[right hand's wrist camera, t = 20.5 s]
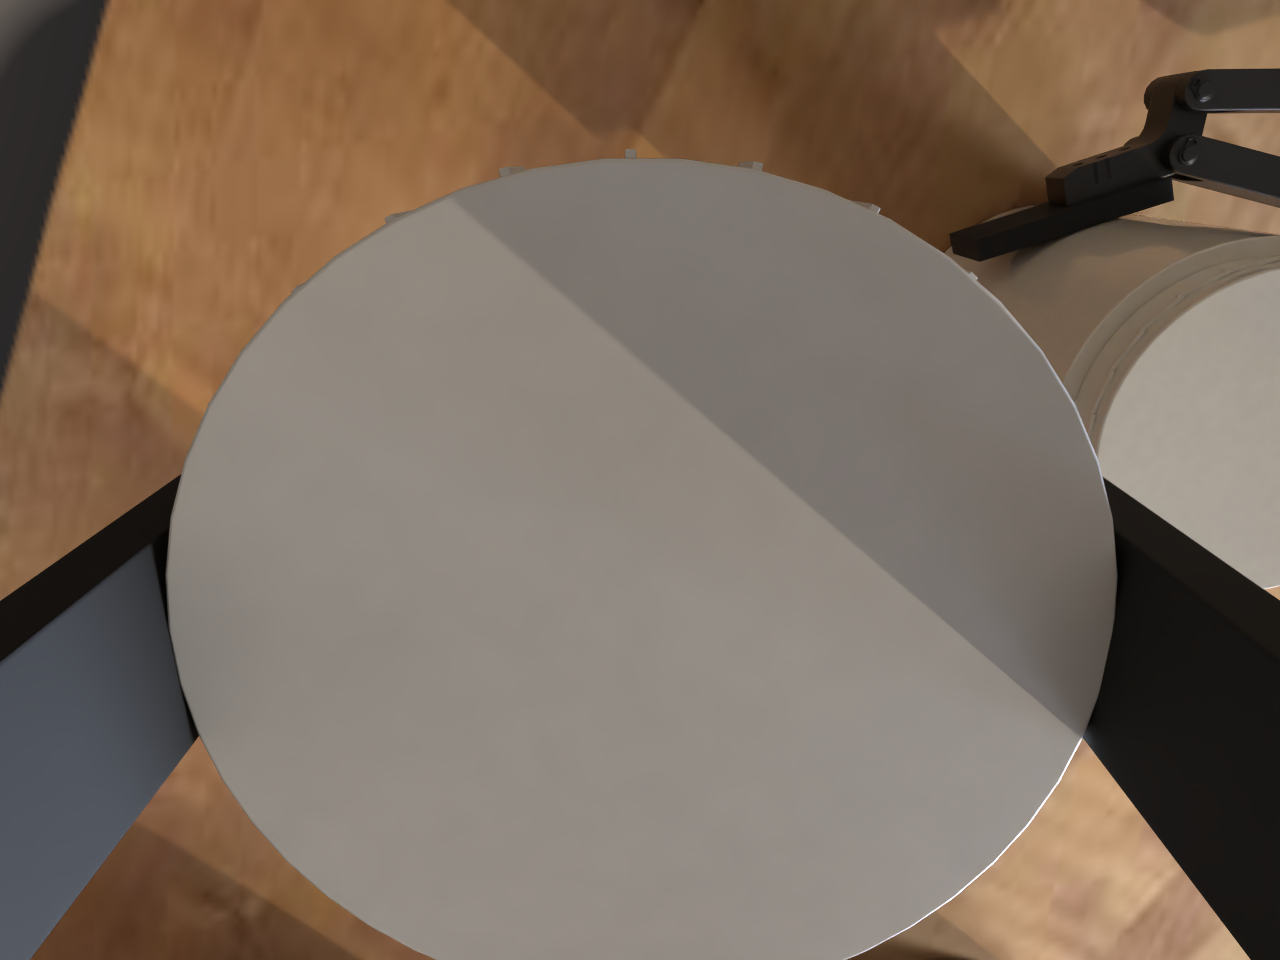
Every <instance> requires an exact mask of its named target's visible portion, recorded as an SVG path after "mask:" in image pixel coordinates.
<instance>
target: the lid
mask: <svg viewBox="0 0 1280 960" xmlns="http://www.w3.org/2000/svg"><path fill="white" fill-rule="evenodd" d="M762 168H763V163H759V162H755V161H750V162H739V165H738V167H737V166H730V165H723V164H716V163H709V162H702V161H695V160H688V159H681V158H636V149H626V150H625V158H604V159H597V160H590V161H583V162H575V163H568V164H561V165H554V166H547V167H539V168H532V169H528V170H526V169H525V167H505V168H501V169H499V173H500V176H501V177H500V178H497V179H493V180H490V181H486V182H483V183H479V184H476V185H472V186H469V187H465V188H462V189H459V190H457V191H455V192H452V193H450V194H448V195H446V196H444V197H441V198H439V199H437V200H435V201H432V202H430V203H428V204H426V205H423V206H421V207H419V208H417V209H415V210H411V211H406V212H401V213H396V214H391V215H390V216H388V217H386V218H385V221H386V223H387V224H385V225H383V226H382V227H380V228H379V229H377V230H376V231H374V232H372V233H371V234H369V235H368V236H366V237H365V238H363V239H361V240H360V241H358V242H357V243H355V244H354V245H352V246H350V247H349V248H347V249H346V250H344V251H343V252H341V253H339V254H338V255H336V256H335V257H334V258H333V259H331V260H330V261H329V262H328V263H327V264H326V265H325V266H323V267H322V268H321V269H320V270H319V271H318V272H316V273H315V274H314V275H313V276H312V277H311V278H310V279H308V280H307V281H306V282H305V283H304V284H301V285H298V286H296V287H295V288H294V289H293V290H292V294H291V295H290V296H289V297H288V298H286V299H285V300H284V301H283V302H282V304H281V305H280V306H279V307H278V308H277V309H276V311H275V312H274V313H273V314H272V315H271V317H270V318H269V319H268V320H267V321H266V322H265V324H264V325H263V326H262V327H261V328H260V329H259V331H258V332H257V333H256V334H255V335H254V336H253V338H252V339H251V340H250V341H249V342H248V343H247V345H246V346H245V347H244V348H243V349H242V351H241V352H240V354H239V355H238V357H237V359H236V360H235V362H234V364H233V365H232V367H231V368H230V370H229V372H228V373H227V375H226V377H225V378H224V380H223V381H222V383H221V385H220V386H219V388H218V389H217V391H216V393H215V394H214V396H213V398H212V399H211V401H210V402H209V404H208V407H207V409H206V411H205V414H204V416H203V418H202V421H201V423H200V426H199V428H198V430H197V433H196V435H195V437H194V440H193V442H192V445H191V447H190V449H189V452H188V454H187V456H186V459H185V462H184V466H183V470H182V474H181V478H180V482H179V486H178V490H177V494H176V498H175V502H174V506H173V510H172V514H171V520H170V531H169V542H168V553H167V564H166V591H167V608H168V625H169V633H170V638H171V643H172V648H173V652H174V657H175V662H176V667H177V672H178V676H179V681H180V685H181V688H182V690H183V693H184V696H185V699H186V701H187V704H188V707H189V710H190V712H191V715H192V718H193V721H194V723H195V726H196V729H197V732H198V734H199V736H200V738H201V740H202V742H203V744H204V746H205V748H206V749H207V751H208V753H209V755H210V757H211V759H212V761H213V763H214V765H215V767H216V769H217V770H218V772H219V774H220V776H221V778H222V780H223V782H224V783H225V784H226V786H227V787H228V789H229V790H230V792H231V793H232V794H233V796H234V797H235V799H236V800H237V801H238V803H239V804H240V806H241V807H242V809H243V810H244V811H245V813H246V814H247V816H248V817H249V819H250V820H251V821H252V823H253V824H254V825H255V826H256V827H257V829H258V830H259V831H260V832H261V833H262V834H263V835H264V836H265V837H266V838H267V840H268V841H269V842H270V843H271V844H272V845H273V846H274V847H275V848H276V849H277V851H278V852H279V853H280V854H281V855H282V856H283V857H284V858H285V859H286V861H287V862H288V863H289V864H291V865H292V866H293V867H294V868H295V869H296V870H297V871H299V872H300V873H301V874H302V875H303V876H304V877H306V878H307V879H308V880H309V881H310V882H311V883H312V884H314V885H315V886H316V887H317V888H318V889H319V890H320V891H322V892H323V893H324V894H325V895H326V896H327V897H329V898H330V899H332V900H333V901H335V902H336V903H337V904H339V905H340V906H342V907H343V908H345V909H346V910H348V911H349V912H350V913H352V914H353V915H355V916H356V917H358V918H359V919H361V920H362V921H363V922H365V923H366V924H368V925H369V926H371V927H373V928H375V929H376V930H378V931H380V932H382V933H384V934H386V935H387V936H389V937H391V938H393V939H395V940H397V941H398V942H400V943H402V944H404V945H406V946H408V947H410V948H411V949H413V950H415V951H417V952H420V953H422V954H425V955H427V956H429V957H432V958H434V959H437V960H846V959H848V958H851V957H853V956H855V955H858V954H860V953H863V952H865V951H867V950H869V949H871V948H873V947H875V946H876V945H878V944H880V943H882V942H884V941H886V940H888V939H889V938H891V937H893V936H895V935H897V934H899V933H901V932H902V931H904V930H906V929H908V928H910V927H912V926H913V925H915V924H916V923H917V922H919V921H920V920H922V919H923V918H925V917H926V916H928V915H929V914H931V913H932V912H933V911H935V910H936V909H938V908H939V907H941V906H942V905H944V904H945V903H947V902H948V901H949V900H951V899H952V898H954V897H955V896H956V895H957V894H959V893H960V892H961V891H962V890H963V889H964V888H965V887H967V886H968V885H969V884H970V883H971V882H972V881H974V880H975V879H976V878H977V877H978V876H979V875H980V874H982V873H983V872H984V871H985V870H986V869H987V868H989V867H990V866H991V865H992V864H993V863H994V862H995V861H996V860H997V859H998V858H999V857H1000V856H1001V854H1002V853H1003V852H1004V851H1005V850H1006V849H1007V848H1008V847H1009V846H1010V845H1011V843H1012V842H1013V841H1014V840H1015V839H1016V838H1017V837H1018V836H1019V835H1020V834H1021V833H1022V831H1023V830H1024V829H1025V828H1026V827H1027V826H1028V825H1029V824H1030V822H1031V821H1032V819H1033V818H1034V817H1035V815H1036V814H1037V812H1038V811H1039V809H1040V808H1041V807H1042V805H1043V804H1044V802H1045V801H1046V800H1047V798H1048V797H1049V795H1050V794H1051V793H1052V791H1053V790H1054V788H1055V787H1056V785H1057V784H1058V783H1059V781H1060V779H1061V777H1062V775H1063V774H1064V772H1065V770H1066V768H1067V766H1068V764H1069V762H1070V760H1071V758H1072V757H1073V755H1074V753H1075V751H1076V749H1077V747H1078V745H1079V743H1080V742H1081V740H1082V738H1083V736H1084V734H1085V731H1086V728H1087V725H1088V723H1089V720H1090V717H1091V715H1092V712H1093V709H1094V706H1095V704H1096V701H1097V698H1098V695H1099V691H1100V687H1101V682H1102V678H1103V673H1104V668H1105V663H1106V659H1107V654H1108V649H1109V645H1110V640H1111V635H1112V630H1113V625H1114V619H1115V608H1116V593H1117V577H1118V575H1117V563H1116V552H1115V540H1114V528H1113V518H1112V514H1111V510H1110V506H1109V502H1108V497H1107V493H1106V489H1105V485H1104V481H1103V477H1102V473H1101V469H1100V465H1099V461H1098V458H1097V456H1096V453H1095V451H1094V449H1093V446H1092V444H1091V441H1090V439H1089V437H1088V434H1087V432H1086V429H1085V427H1084V425H1083V422H1082V420H1081V417H1080V415H1079V413H1078V410H1077V408H1076V405H1075V404H1074V402H1073V400H1072V399H1071V397H1070V395H1069V394H1068V392H1067V391H1066V389H1065V387H1064V386H1063V384H1062V382H1061V381H1060V379H1059V377H1058V376H1057V374H1056V373H1055V371H1054V369H1053V368H1052V366H1051V364H1050V363H1049V361H1048V359H1047V358H1046V356H1045V355H1044V353H1043V351H1042V350H1041V349H1040V348H1039V347H1038V345H1037V344H1036V343H1035V342H1034V341H1033V339H1032V338H1031V337H1030V336H1029V335H1028V334H1027V332H1026V331H1025V330H1024V329H1023V328H1022V326H1021V325H1020V324H1019V323H1018V322H1017V321H1016V319H1015V318H1014V317H1013V316H1012V315H1011V313H1010V312H1009V311H1008V310H1007V309H1006V308H1005V306H1004V305H1003V304H1002V303H1001V302H1000V301H999V300H998V299H997V298H996V297H995V296H994V295H992V294H991V293H990V292H989V291H988V290H987V289H986V288H984V287H983V286H982V285H981V284H980V283H979V282H978V281H976V279H977V276H975V275H974V274H973V273H972V272H970V271H967V270H964V269H963V268H961V267H960V266H959V265H958V264H957V263H956V262H955V261H953V260H952V259H951V258H950V257H949V256H947V255H946V254H944V253H942V252H941V251H939V250H938V249H936V248H935V247H933V246H932V245H930V244H928V243H927V242H925V241H924V240H922V239H921V238H919V237H918V236H916V235H914V234H913V233H911V232H910V231H908V230H907V229H905V228H903V227H902V226H900V225H899V224H897V223H896V222H894V221H893V220H891V219H889V218H887V217H885V216H882V215H880V214H878V212H879V210H880V207H878V206H876V205H874V204H870V203H864V202H858V201H852V200H847V199H845V198H843V197H840V196H838V195H836V194H834V193H832V192H829V191H827V190H825V189H821V188H818V187H815V186H811V185H808V184H804V183H801V182H797V181H794V180H790V179H787V178H784V177H780V176H777V175H773V174H770V173H766V172H763V171H762Z"/></svg>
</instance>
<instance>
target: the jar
mask: <svg viewBox="0 0 1280 960" xmlns="http://www.w3.org/2000/svg"><path fill="white" fill-rule="evenodd" d="M1034 206H1037V205H1033V206H1026V207H1021V208H1017V209H1012V210H1010V211H1007V212H1004V213H1001V214H998V215H996V216H994V217H992V218H990V219H988V220H986V221H984V222H987V221H990V220H993V219H997V218H1000V217H1003V216H1006V215H1009V214H1012V213H1015V212H1018V211H1021V210H1024V209H1027V208H1031V207H1034ZM984 222H982V223H984ZM980 224H981V223H980ZM944 254H946V255H947V256H949V257H950V258H951V259H952V260H953V261H955V262H956V263H957V264H958V265H959V266H960V267H961V268H963V269H964V270H967V271H970V272H972V273H973V274H974V275H975V276H977V279H976V281H978V282H979V283H980V284H981V285H982V286H983V287H984V288H986V289H987V290H988V291H989V292H990V293H991V294H992V295H994V296H995V297H996V298H997V299H998V300H999V301H1000V302H1001V303H1002V304H1003V305H1004V306H1005V308H1006V309H1007V310H1008V311H1009V312H1010V313H1011V315H1012V316H1013V317H1014V318H1015V319H1016V321H1017V322H1018V323H1019V324H1020V325H1021V326H1022V328H1023V329H1024V330H1025V331H1026V332H1027V334H1028V335H1029V336H1030V337H1031V338H1032V339H1033V341H1034V342H1035V343H1036V344H1037V345H1038V347H1039V348H1040V349H1041V350H1042V351H1043V353H1044V355H1045V356H1046V358H1047V359H1048V361H1049V363H1050V364H1051V366H1052V368H1053V369H1054V371H1055V373H1056V374H1057V376H1058V377H1059V379H1060V381H1061V382H1062V384H1063V386H1064V387H1065V389H1066V391H1067V392H1068V394H1069V395H1070V397H1071V399H1072V400H1073V402H1074V404H1075V405H1076V408H1077V410H1078V413H1079V415H1080V417H1081V420H1082V422H1083V425H1084V427H1085V429H1086V432H1087V434H1088V437H1089V439H1090V441H1091V444H1092V446H1093V449H1094V451H1095V453H1096V456H1097V458H1098V461H1099V465H1100V469H1101V473H1102V476H1103V477H1104V478H1106V479H1107V480H1108V481H1110V482H1111V483H1113V484H1114V485H1116V486H1117V487H1118V488H1120V489H1121V490H1123V491H1124V492H1126V493H1127V494H1128V495H1130V496H1131V497H1133V498H1134V499H1136V500H1137V501H1138V502H1140V503H1141V504H1143V505H1144V506H1145V507H1147V508H1148V509H1150V510H1151V511H1153V512H1154V513H1155V514H1157V515H1158V516H1160V517H1161V518H1163V519H1164V520H1165V521H1167V522H1168V523H1170V524H1171V525H1173V526H1174V527H1175V528H1177V529H1178V530H1180V531H1181V532H1183V533H1184V534H1185V535H1187V536H1188V537H1190V538H1191V539H1193V540H1194V541H1195V542H1197V543H1198V544H1200V545H1201V546H1203V547H1204V548H1205V549H1207V550H1208V551H1210V552H1211V553H1213V554H1214V555H1215V556H1217V557H1218V558H1220V559H1221V560H1223V561H1224V562H1225V563H1227V564H1228V565H1230V566H1231V567H1233V568H1234V569H1235V570H1237V571H1238V572H1240V573H1241V574H1243V575H1244V576H1245V577H1247V578H1248V579H1250V580H1251V581H1253V582H1254V583H1255V584H1257V585H1258V586H1260V587H1261V588H1262V589H1267V588H1273V587H1277V586H1280V234H1273V233H1266V232H1258V231H1251V230H1243V229H1236V228H1228V227H1221V226H1213V225H1206V224H1198V223H1191V222H1183V221H1176V220H1168V219H1161V218H1153V217H1146V216H1138V215H1131V214H1129V215H1126V216H1122V217H1119V218H1116V219H1113V220H1110V221H1107V222H1104V223H1100V224H1097V225H1094V226H1091V227H1088V228H1085V229H1082V230H1078V231H1075V232H1072V233H1069V234H1066V235H1063V236H1060V237H1057V238H1053V239H1050V240H1047V241H1044V242H1041V243H1038V244H1035V245H1031V246H1028V247H1025V248H1022V249H1019V250H1016V251H1013V252H1009V253H1006V254H1003V255H1000V256H997V257H994V258H991V259H988V260H984V261H981V262H978V261H975V260H972V259H968V258H965V257H962V256H959V255H955V254H953V251H952V246H951V247H950V248H949V249H948V250H947V251H946V252H945V253H944Z"/></svg>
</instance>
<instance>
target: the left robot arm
mask: <svg viewBox="0 0 1280 960" xmlns="http://www.w3.org/2000/svg"><path fill="white" fill-rule="evenodd" d="M1144 104H1145V106H1146V108H1147V109H1148V114H1147V119H1146V123H1145V126H1144V129H1143V131H1142V133H1141V134H1140V135H1139V137H1135V138H1132V139H1130V140H1129V141H1128V142H1127V143H1125V145H1124V146H1123V147H1120V148H1117V149H1114V150H1110V151H1107V152H1104V153H1101V154H1098V155H1095V156H1092V157H1089V158H1087V159H1083V160H1080V161H1077V162H1074V163H1071V164H1068V165H1065V166H1062V167H1059V168H1057V169H1056V170H1055V171H1053V172H1052V173H1051V174H1050V175H1048V176H1047V177H1046V178H1045V180H1046V187H1047V193H1048V200H1049V202H1046V203H1043V204H1040V205H1037V206H1034V207H1031V208H1027V209H1024V210H1021V211H1018V212H1015V213H1012V214H1009V215H1006V216H1003V217H1000V218H997V219H993V220H990V221H987V222H984V223H981V224H978V225H975V226H972V227H969V228H966V229H963V230H959V231H956V232H953V233H950V234H949V235H950V241H951V246H952V251H953V254H955V255H959V256H962V257H965V258H968V259H972V260H975V261H978V262H981V261H984V260H988V259H991V258H994V257H997V256H1000V255H1003V254H1006V253H1009V252H1013V251H1016V250H1019V249H1022V248H1025V247H1028V246H1031V245H1035V244H1038V243H1041V242H1044V241H1047V240H1050V239H1053V238H1057V237H1060V236H1063V235H1066V234H1069V233H1072V232H1075V231H1078V230H1082V229H1085V228H1088V227H1091V226H1094V225H1097V224H1100V223H1104V222H1107V221H1110V220H1113V219H1116V218H1119V217H1122V216H1126V215H1129V214H1132V213H1135V212H1138V211H1141V210H1144V209H1147V208H1151V207H1154V206H1157V205H1160V204H1163V203H1166V202H1169V201H1173V200H1174V196H1173V187H1172V180H1175V181H1179V182H1183V183H1187V184H1190V185H1194V186H1198V187H1202V188H1206V189H1210V190H1213V191H1217V192H1221V193H1225V194H1229V195H1233V196H1236V197H1240V198H1244V199H1248V200H1252V201H1256V202H1259V203H1263V204H1267V205H1271V206H1275V207H1278V208H1280V157H1279V156H1275V155H1271V154H1267V153H1264V152H1260V151H1256V150H1252V149H1249V148H1245V147H1241V146H1237V145H1234V144H1230V143H1226V142H1222V141H1219V140H1215V139H1211V138H1207V137H1204V136H1202V133H1203V129H1204V124H1205V120H1206V116H1207V113H1280V69H1207V70H1201V71H1193V72H1187V73H1181V74H1174V75H1169V76H1163V77H1159V78H1157V79H1155V80H1154V81H1152V82H1151V83H1150V84H1149V86H1148V87H1147V88H1146V91H1145V94H1144Z"/></svg>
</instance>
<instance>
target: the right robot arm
mask: <svg viewBox="0 0 1280 960" xmlns="http://www.w3.org/2000/svg"><path fill="white" fill-rule="evenodd" d="M1102 477H1103V476H1102ZM180 478H181V475H179V476H178V477H176V478H175V479H174V480H172V481H171V482H169V483H168V484H167V485H165V486H164V487H162V488H161V489H159V490H158V491H157V492H155V493H154V494H152V495H151V496H149V497H148V498H147V499H145V500H144V501H142V502H141V503H139V504H138V505H137V506H135V507H134V508H132V509H131V510H129V511H128V512H127V513H125V514H124V515H122V516H121V517H119V518H118V519H117V520H115V521H114V522H112V523H111V524H109V525H108V526H107V527H105V528H104V529H102V530H101V531H99V532H98V533H97V534H95V535H94V536H92V537H91V538H89V539H88V540H87V541H85V542H84V543H82V544H81V545H79V546H78V547H77V548H75V549H74V550H72V551H71V552H70V553H68V554H67V555H65V556H64V557H62V558H61V559H60V560H58V561H57V562H55V563H54V564H52V565H51V566H50V567H48V568H47V569H45V570H44V571H42V572H41V573H40V574H38V575H37V576H35V577H34V578H32V579H31V580H30V581H28V582H27V583H25V584H24V585H22V586H21V587H20V588H18V589H17V590H15V591H14V592H12V593H11V594H10V595H8V596H7V597H5V598H4V599H2V600H1V601H0V960H30V959H31V957H32V956H33V955H34V953H35V952H36V951H37V949H38V948H39V947H40V945H41V944H42V943H43V942H44V940H45V939H46V938H47V936H48V935H49V934H50V932H51V931H52V930H53V928H54V927H55V926H56V924H57V923H58V922H59V920H60V919H61V918H62V916H63V915H64V914H65V912H66V911H67V910H68V908H69V907H70V906H71V904H72V903H73V902H74V901H75V899H76V898H77V897H78V895H79V894H80V893H81V891H82V890H83V889H84V887H85V886H86V885H87V883H88V882H89V881H90V879H91V878H92V877H93V875H94V874H95V873H96V871H97V870H98V869H99V867H100V866H101V865H102V863H103V862H104V861H105V860H106V858H107V857H108V856H109V854H110V853H111V852H112V850H113V849H114V848H115V846H116V845H117V844H118V842H119V841H120V840H121V838H122V837H123V836H124V834H125V833H126V832H127V830H128V829H129V828H130V826H131V825H132V824H133V822H134V821H135V820H136V818H137V817H138V816H139V815H140V813H141V812H142V811H143V809H144V808H145V807H146V805H147V804H148V803H149V801H150V800H151V799H152V797H153V796H154V795H155V793H156V792H157V791H158V789H159V788H160V787H161V785H162V784H163V783H164V781H165V780H166V779H167V777H168V776H169V775H170V774H171V772H172V771H173V770H174V768H175V767H176V766H177V764H178V763H179V762H180V760H181V759H182V758H183V756H184V755H185V754H186V752H187V751H188V750H189V748H190V747H191V746H192V744H193V743H194V742H195V740H196V739H197V738H198V736H199V734H198V732H197V729H196V726H195V723H194V721H193V718H192V715H191V712H190V710H189V707H188V704H187V701H186V699H185V696H184V693H183V690H182V688H181V685H180V681H179V676H178V672H177V667H176V662H175V657H174V652H173V648H172V643H171V638H170V633H169V625H168V608H167V591H166V564H167V553H168V542H169V531H170V520H171V514H172V510H173V506H174V502H175V498H176V494H177V490H178V486H179V482H180ZM1103 481H1104V485H1105V489H1106V493H1107V497H1108V502H1109V506H1110V510H1111V514H1112V518H1113V528H1114V540H1115V552H1116V563H1117V575H1118V577H1117V593H1116V608H1115V619H1114V625H1113V630H1112V635H1111V640H1110V645H1109V649H1108V654H1107V659H1106V663H1105V668H1104V673H1103V678H1102V682H1101V687H1100V691H1099V695H1098V698H1097V701H1096V704H1095V706H1094V709H1093V712H1092V715H1091V717H1090V720H1089V723H1088V725H1087V728H1086V731H1085V734H1084V736H1083V738H1084V740H1085V741H1086V742H1087V744H1088V745H1089V746H1090V748H1091V749H1092V750H1093V752H1094V753H1095V754H1096V756H1097V757H1098V758H1099V760H1100V761H1101V762H1102V763H1103V765H1104V766H1105V767H1106V769H1107V770H1108V771H1109V773H1110V774H1111V775H1112V777H1113V778H1114V779H1115V781H1116V782H1117V783H1118V785H1119V786H1120V787H1121V789H1122V790H1123V791H1124V793H1125V794H1126V795H1127V797H1128V798H1129V799H1130V801H1131V802H1132V803H1133V804H1134V806H1135V807H1136V808H1137V810H1138V811H1139V812H1140V814H1141V815H1142V816H1143V818H1144V819H1145V820H1146V822H1147V823H1148V824H1149V826H1150V827H1151V828H1152V830H1153V831H1154V832H1155V834H1156V835H1157V836H1158V838H1159V839H1160V840H1161V842H1162V843H1163V844H1164V845H1165V847H1166V848H1167V849H1168V851H1169V852H1170V853H1171V855H1172V856H1173V857H1174V859H1175V860H1176V861H1177V863H1178V864H1179V865H1180V867H1181V868H1182V869H1183V871H1184V872H1185V873H1186V875H1187V876H1188V877H1189V879H1190V880H1191V881H1192V883H1193V884H1194V885H1195V886H1196V888H1197V889H1198V890H1199V892H1200V893H1201V894H1202V896H1203V897H1204V898H1205V900H1206V901H1207V902H1208V904H1209V905H1210V906H1211V908H1212V909H1213V910H1214V912H1215V913H1216V914H1217V916H1218V917H1219V918H1220V920H1221V921H1222V922H1223V924H1224V925H1225V926H1226V928H1227V929H1228V930H1229V931H1230V933H1231V934H1232V935H1233V937H1234V938H1235V939H1236V941H1237V942H1238V943H1239V945H1240V946H1241V947H1242V949H1243V950H1244V951H1245V953H1246V954H1247V955H1248V957H1249V958H1250V959H1251V960H1280V600H1278V599H1277V598H1275V597H1274V596H1272V595H1271V594H1270V593H1268V592H1267V591H1265V590H1264V589H1262V588H1261V587H1260V586H1258V585H1257V584H1255V583H1254V582H1253V581H1251V580H1250V579H1248V578H1247V577H1245V576H1244V575H1243V574H1241V573H1240V572H1238V571H1237V570H1235V569H1234V568H1233V567H1231V566H1230V565H1228V564H1227V563H1225V562H1224V561H1223V560H1221V559H1220V558H1218V557H1217V556H1215V555H1214V554H1213V553H1211V552H1210V551H1208V550H1207V549H1205V548H1204V547H1203V546H1201V545H1200V544H1198V543H1197V542H1195V541H1194V540H1193V539H1191V538H1190V537H1188V536H1187V535H1185V534H1184V533H1183V532H1181V531H1180V530H1178V529H1177V528H1175V527H1174V526H1173V525H1171V524H1170V523H1168V522H1167V521H1165V520H1164V519H1163V518H1161V517H1160V516H1158V515H1157V514H1155V513H1154V512H1153V511H1151V510H1150V509H1148V508H1147V507H1145V506H1144V505H1143V504H1141V503H1140V502H1138V501H1137V500H1136V499H1134V498H1133V497H1131V496H1130V495H1128V494H1127V493H1126V492H1124V491H1123V490H1121V489H1120V488H1118V487H1117V486H1116V485H1114V484H1113V483H1111V482H1110V481H1108V480H1107V479H1106V478H1104V477H1103Z"/></svg>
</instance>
